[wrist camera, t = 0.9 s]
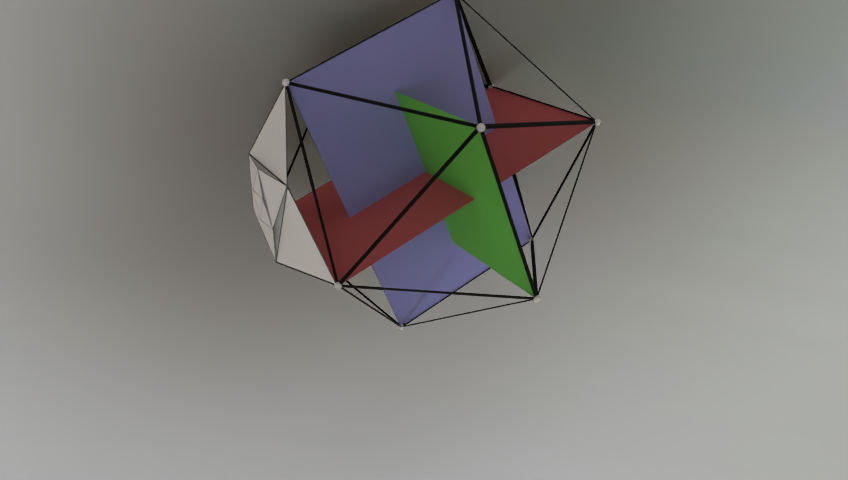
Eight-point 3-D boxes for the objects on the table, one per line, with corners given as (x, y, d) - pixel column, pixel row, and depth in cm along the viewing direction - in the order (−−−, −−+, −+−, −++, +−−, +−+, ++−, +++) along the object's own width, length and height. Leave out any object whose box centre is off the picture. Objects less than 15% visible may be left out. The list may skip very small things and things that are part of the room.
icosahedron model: (598, -74, 16) (439, 123, 11) (650, 190, 20) (551, 432, 14) (335, -19, 20) (125, 145, 15) (419, 193, 24) (275, 384, 18)
